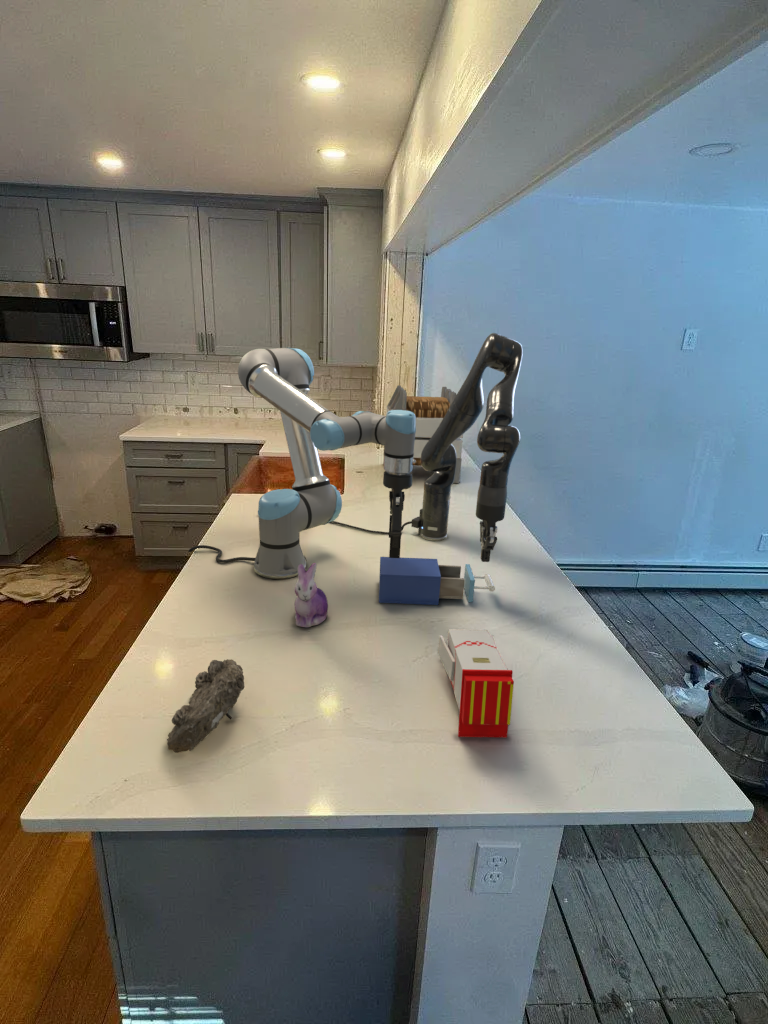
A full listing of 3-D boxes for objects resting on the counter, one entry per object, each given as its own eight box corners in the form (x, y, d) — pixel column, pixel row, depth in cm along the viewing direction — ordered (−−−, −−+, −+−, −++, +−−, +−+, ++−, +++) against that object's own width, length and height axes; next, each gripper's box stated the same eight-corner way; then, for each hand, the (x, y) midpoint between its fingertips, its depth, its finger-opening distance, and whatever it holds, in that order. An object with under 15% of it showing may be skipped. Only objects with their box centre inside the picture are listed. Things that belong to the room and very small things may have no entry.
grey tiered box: (382, 463, 289) (386, 382, 275) (445, 464, 293) (451, 384, 279) (390, 482, 257) (394, 392, 243) (460, 483, 261) (468, 394, 247)
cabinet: (434, 585, 164) (437, 558, 161) (438, 605, 153) (440, 576, 150) (379, 583, 163) (380, 556, 160) (378, 602, 153) (380, 574, 150)
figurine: (299, 632, 137) (299, 576, 132) (286, 613, 145) (285, 559, 140) (336, 624, 141) (336, 570, 136) (320, 605, 149) (321, 553, 144)
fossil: (192, 660, 117) (244, 628, 112) (224, 691, 120) (276, 661, 115) (142, 746, 98) (202, 712, 93) (182, 779, 101) (242, 748, 96)
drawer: (488, 585, 163) (490, 564, 161) (494, 603, 153) (497, 581, 151) (415, 582, 163) (417, 562, 160) (417, 600, 153) (419, 578, 151)
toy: (488, 613, 130) (523, 677, 101) (484, 667, 133) (517, 744, 104) (435, 612, 130) (455, 676, 101) (432, 666, 133) (451, 743, 103)
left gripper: (415, 486, 134) (409, 567, 142) (410, 459, 158) (406, 530, 165) (383, 485, 134) (379, 566, 141) (383, 458, 158) (380, 529, 165)
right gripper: (511, 509, 143) (503, 571, 148) (500, 493, 155) (494, 551, 161) (481, 508, 142) (474, 570, 148) (473, 492, 155) (467, 550, 161)
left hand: (393, 547), depth 153 cm, fingers open, 13 cm apart
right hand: (484, 560), depth 155 cm, fingers closed
